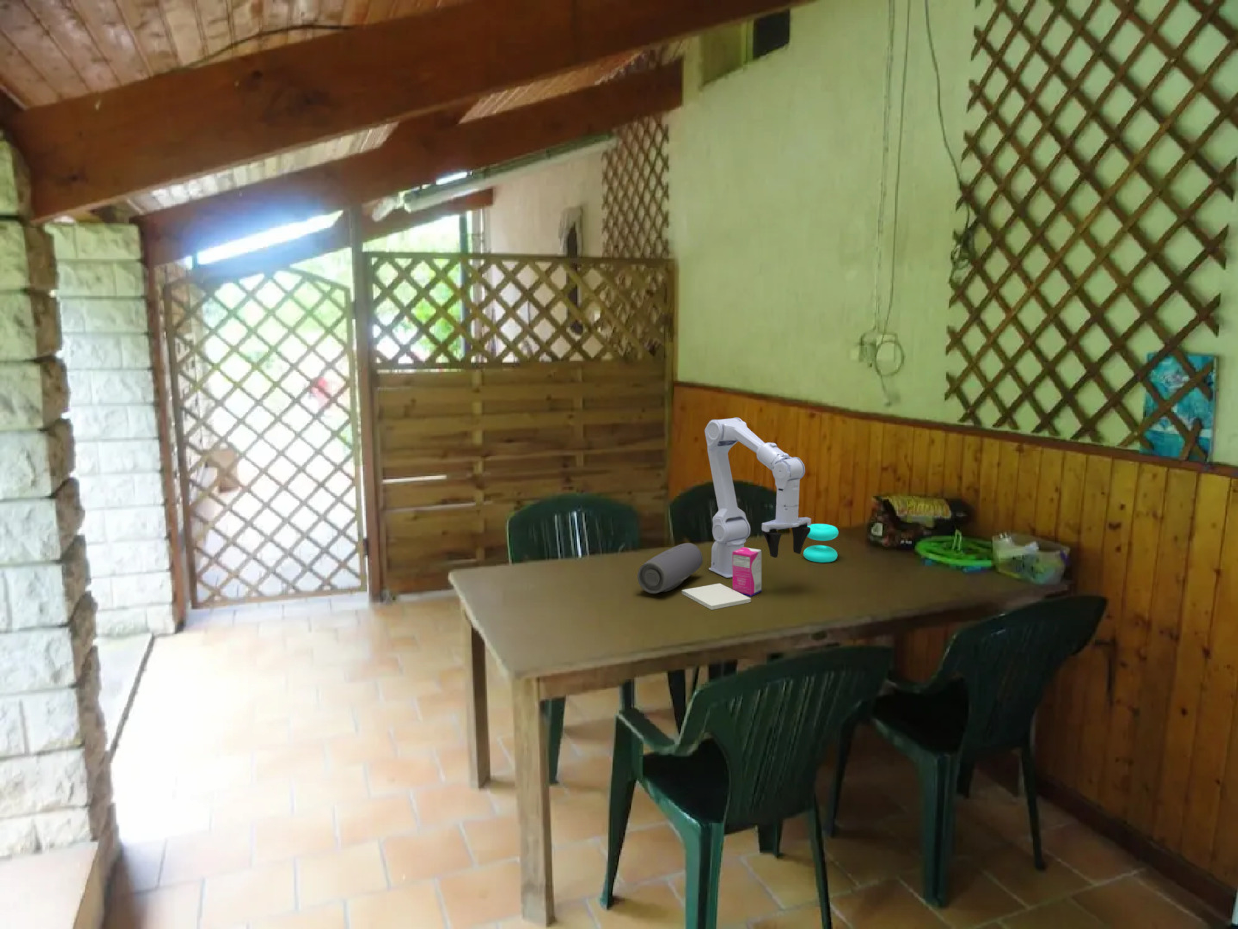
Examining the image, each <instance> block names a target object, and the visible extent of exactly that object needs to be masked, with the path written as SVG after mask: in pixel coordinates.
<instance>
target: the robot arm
mask: <svg viewBox="0 0 1238 929" xmlns="http://www.w3.org/2000/svg"><path fill="white" fill-rule="evenodd" d="M704 435H705V440H706V445H707V455H708V461H709V465H710V471H711V477H712V482H713V488H714V494H715V497H716V498H715V499H716V504H717V508H718V511H717V512H716V513H715V515H714V516H712V530H711V532H712V537H713V539H714V540H715V541H714V542H713V544H712V546H711V567H709V568H708V570H709V571H711V572H713V573H714V574H715V573H716V574H717V575H719V576H722V577H724V578H728V579H731V578H733V555H732V552H733V551H736V550H738V549H740V548H742V547H745V543H746V542H747V539H748V537H749V536H750V534H751V525H750V523H749V521H748V518H747V516H746V512H745V511H743V510H742V509H740V508H739V507H738V503H737V496H736V491H735V486H734V482H733V476H732V471H731V465H730V459H729V454H728V453H729V451H730V450H731V448H733V446H734V445H736V444H737V443H738V442H739V443H741V444H742V445H743V446H745V447H747V448H748V449H749V450H751V451H752V452H754V453H755V454H756V459H757V460H758V461H759V463H761V464H763V466H766V467H767V468H768V470H770V471H772V476H773V478H774V481H775V482H774V483H775V484H774V485H775V487H776V498H775V500H776V504H775V505H776V506H775V519H773V520H770V521H766V522H762V523H761V531H762V534H763V536H764V538H765V540H766V542H767V546H768V549H769V555H770V557H773V558H776V559H777V558H778V555H779V545H780V541H781V537H782V533H780V532H779V531H778V530H783V529H784V530H785V529H790V528H791V531H792V533H791V534H792V541H793V543H792V544H793V546H792V548H793V549H792V550H793V553H795V554H798V555H800V554H801V553H802V550H803V546H804V544H805V542H806V539H807V538H808V537H807V535H808V534H809V533H810V527H807V526H811V524H812V518H810V517H808V516H805V517H803V516H802V517H799V509H800V507H799V504H800V482H801V481H800V480H801V479H802V478H803V477H804V475H805V473H806V468H805V464H804V462H803V461H802V459H800V457H797V456H793V457H792V456H790V455H789V453H787V452H784V451H783V450H782V449H780V448H779V447H778V445H777V444H776V443H775V442H764V440H762V439H761V438H760V437H759V436H757V435H756V434H755V433H754V431H751V429H750V428H748V426H747V422H745V421H743V420H742V419H741V418H740V417H733V418H732V417H731V418H724V419H723V418H722V419H711V420H709V422H708V423H707V425H706V426H705V429H704Z"/></svg>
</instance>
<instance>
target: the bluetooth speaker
mask: <svg viewBox="0 0 1238 929" xmlns="http://www.w3.org/2000/svg"><path fill="white" fill-rule="evenodd" d="M703 562H704V559H703V555H702V551H701V550H700V548H699V547H698V546H697V545H696V544H694V543H691V542H685V543H681V544H678V545H676V546H673V547H671V548H669V549H666V550H665V551H662V552H661V553H659V554H657V555H655V556H653V557H652V558H650V559H648V560H647V561H646V562H644V563H643V564H642V565H641V566H640V567H639V569H638V571H637V582H638V584H639V586H640V588H641V589H642V590H643V591H645V592H647V593H649V594H659V593H662V592H670V591H671V590H674V589H676V588H677V587H679V586H680V585H681V584H683V582H684V580H686V579H687V578H689V577H690V576H691V575H693V574H694V573H696V572H697V571H698V570H699V569H700V568H701V567H702V564H703Z"/></svg>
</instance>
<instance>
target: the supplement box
mask: <svg viewBox="0 0 1238 929" xmlns="http://www.w3.org/2000/svg"><path fill="white" fill-rule="evenodd" d="M732 555H733V577H732V590H735V591H737V592H739V593H741V594H743V595H745V596H747V597H749V598H751V597H753V596H755V595H757V594H759V593H762V550H761V549H759V548H758V549H757V548H753V547H752V548H750V547H745V546H744V547H742V548H740V549H738V550H736V551H733V552H732Z"/></svg>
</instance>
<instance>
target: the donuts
mask: <svg viewBox="0 0 1238 929" xmlns="http://www.w3.org/2000/svg"><path fill="white" fill-rule="evenodd" d="M807 527H810V533H809V534H808V535H807V537H806V538H809V539H810V540H815V541H820V542H821V541H822V542H825V541H832V540H834V539H836V538H837V537H838V536H839V530H838V527H836V526H835V525H832V524H831V525H830V524H827V523H811V526H807ZM803 557H804V558H805V559H806V560H808V561H810V562H814V563H821V564H822V563H824V564H826V563H831V562H834V561H836V560H837V558H838V552H837V550H836V549H834V548H833V547H831V546H828V545H822V544H816V545H815V544H814V545H810V546H807V547H806V548H805V549H804V550H803Z"/></svg>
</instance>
